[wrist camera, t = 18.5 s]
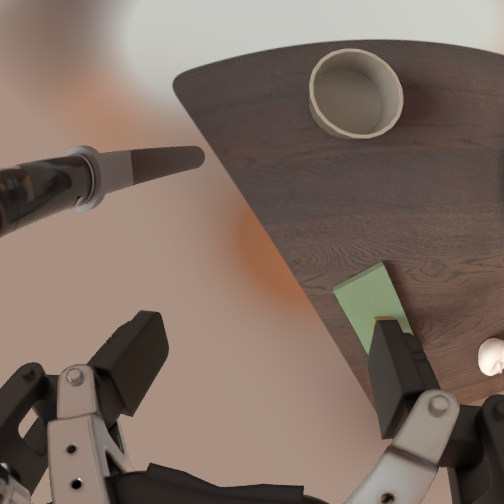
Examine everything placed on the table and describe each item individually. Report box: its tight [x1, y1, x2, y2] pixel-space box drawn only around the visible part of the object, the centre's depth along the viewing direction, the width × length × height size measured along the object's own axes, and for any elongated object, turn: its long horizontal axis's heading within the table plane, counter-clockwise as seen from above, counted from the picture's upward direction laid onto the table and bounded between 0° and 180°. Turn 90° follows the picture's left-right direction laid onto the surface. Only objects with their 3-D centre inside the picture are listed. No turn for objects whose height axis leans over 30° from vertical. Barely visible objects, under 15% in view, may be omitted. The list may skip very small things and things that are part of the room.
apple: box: [478, 338, 504, 376], centre depth 36 cm, size 7×7×8 cm
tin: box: [308, 49, 403, 140], centre depth 28 cm, size 10×10×8 cm
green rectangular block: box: [333, 261, 413, 355], centre depth 41 cm, size 18×8×2 cm, turn 34°
